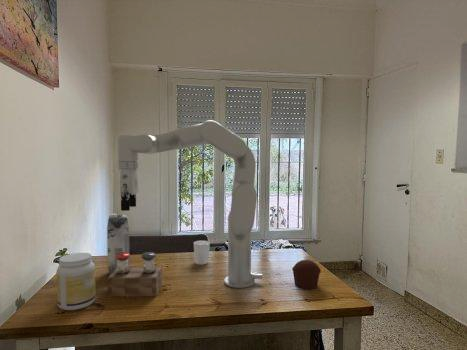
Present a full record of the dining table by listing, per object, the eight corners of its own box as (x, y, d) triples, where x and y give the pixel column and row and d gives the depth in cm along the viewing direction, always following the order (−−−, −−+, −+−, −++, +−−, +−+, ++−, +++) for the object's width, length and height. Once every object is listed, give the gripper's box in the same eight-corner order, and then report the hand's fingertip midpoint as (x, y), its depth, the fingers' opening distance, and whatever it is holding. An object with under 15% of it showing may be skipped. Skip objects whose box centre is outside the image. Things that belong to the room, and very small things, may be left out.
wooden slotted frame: (117, 284, 133) (117, 267, 132) (161, 283, 133) (161, 266, 133) (107, 296, 121) (107, 278, 120) (156, 296, 121) (156, 277, 121)
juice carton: (129, 268, 151) (128, 211, 149) (129, 276, 141) (128, 215, 139) (109, 270, 148) (107, 212, 146) (107, 279, 138) (106, 216, 136)
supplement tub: (102, 297, 120) (101, 253, 119) (80, 313, 108) (78, 263, 107) (74, 294, 123) (73, 250, 122) (49, 309, 111) (47, 260, 110)
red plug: (131, 276, 129) (131, 252, 129) (127, 282, 124) (127, 256, 123) (118, 277, 129) (117, 252, 128) (114, 282, 124) (113, 256, 123)
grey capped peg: (156, 276, 130) (156, 252, 129) (154, 281, 124) (154, 256, 124) (143, 276, 129) (143, 252, 129) (140, 281, 124) (140, 256, 124)
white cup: (209, 265, 156) (209, 244, 155) (192, 265, 156) (192, 244, 156) (210, 260, 164) (210, 240, 163) (194, 259, 164) (194, 240, 163)
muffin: (311, 293, 124) (311, 268, 123) (286, 286, 131) (286, 261, 131) (325, 284, 133) (326, 260, 132) (301, 277, 140) (302, 255, 140)
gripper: (131, 166, 121) (132, 212, 122) (142, 165, 139) (143, 205, 140) (111, 166, 121) (112, 212, 122) (124, 165, 138) (125, 205, 139)
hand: (128, 208), depth 131 cm, fingers open, 9 cm apart
